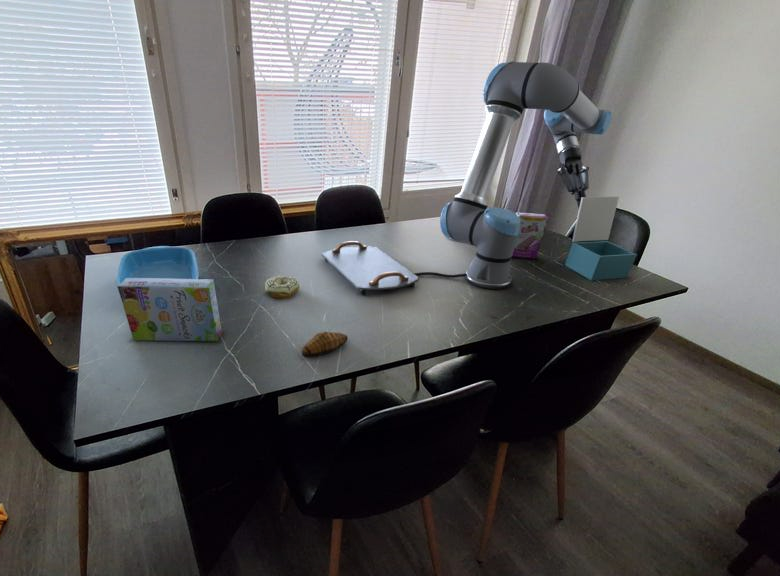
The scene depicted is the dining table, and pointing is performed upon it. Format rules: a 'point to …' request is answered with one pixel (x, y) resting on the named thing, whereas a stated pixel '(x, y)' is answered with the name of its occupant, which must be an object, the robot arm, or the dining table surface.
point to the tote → (600, 260)
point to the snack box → (171, 309)
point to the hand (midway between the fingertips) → (583, 207)
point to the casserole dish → (158, 264)
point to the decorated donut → (281, 286)
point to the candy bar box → (529, 235)
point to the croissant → (324, 343)
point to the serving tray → (369, 267)
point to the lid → (595, 218)
